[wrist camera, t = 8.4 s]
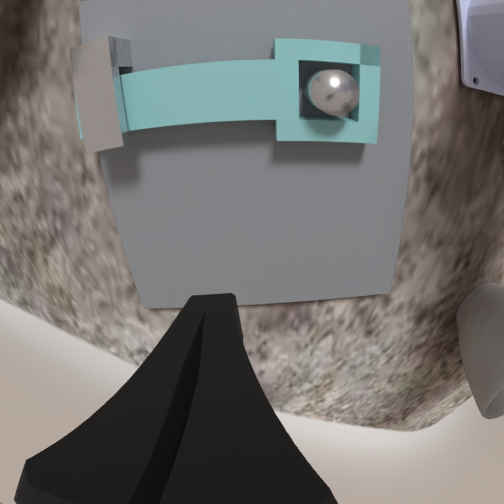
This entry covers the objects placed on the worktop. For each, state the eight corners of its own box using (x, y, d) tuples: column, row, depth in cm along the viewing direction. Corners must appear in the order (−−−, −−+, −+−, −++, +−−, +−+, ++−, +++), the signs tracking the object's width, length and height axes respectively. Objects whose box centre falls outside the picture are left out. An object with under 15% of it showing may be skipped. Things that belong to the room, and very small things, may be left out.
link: (371, 48, 12) (380, 46, 11) (368, 138, 15) (376, 144, 14) (83, 67, 12) (72, 67, 11) (94, 151, 15) (84, 157, 14)
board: (396, -19, 11) (404, -24, 10) (384, 282, 21) (389, 293, 20) (88, 6, 12) (79, 3, 11) (148, 297, 22) (144, 308, 21)
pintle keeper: (332, 23, 13) (354, 10, 9) (337, 114, 16) (359, 126, 12) (105, 50, 13) (69, 49, 10) (117, 135, 16) (86, 153, 13)
